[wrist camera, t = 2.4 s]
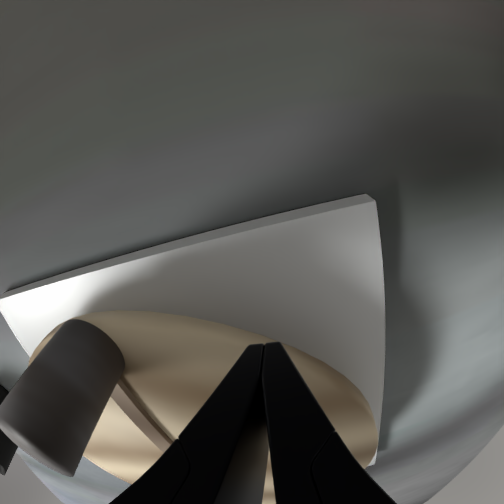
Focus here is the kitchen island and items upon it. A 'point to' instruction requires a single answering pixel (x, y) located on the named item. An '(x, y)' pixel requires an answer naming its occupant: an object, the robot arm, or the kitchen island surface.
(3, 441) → the pen holder
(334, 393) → the handwheel
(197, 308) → the base plate
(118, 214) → the kitchen island surface
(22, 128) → the kitchen island surface
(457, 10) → the kitchen island surface
